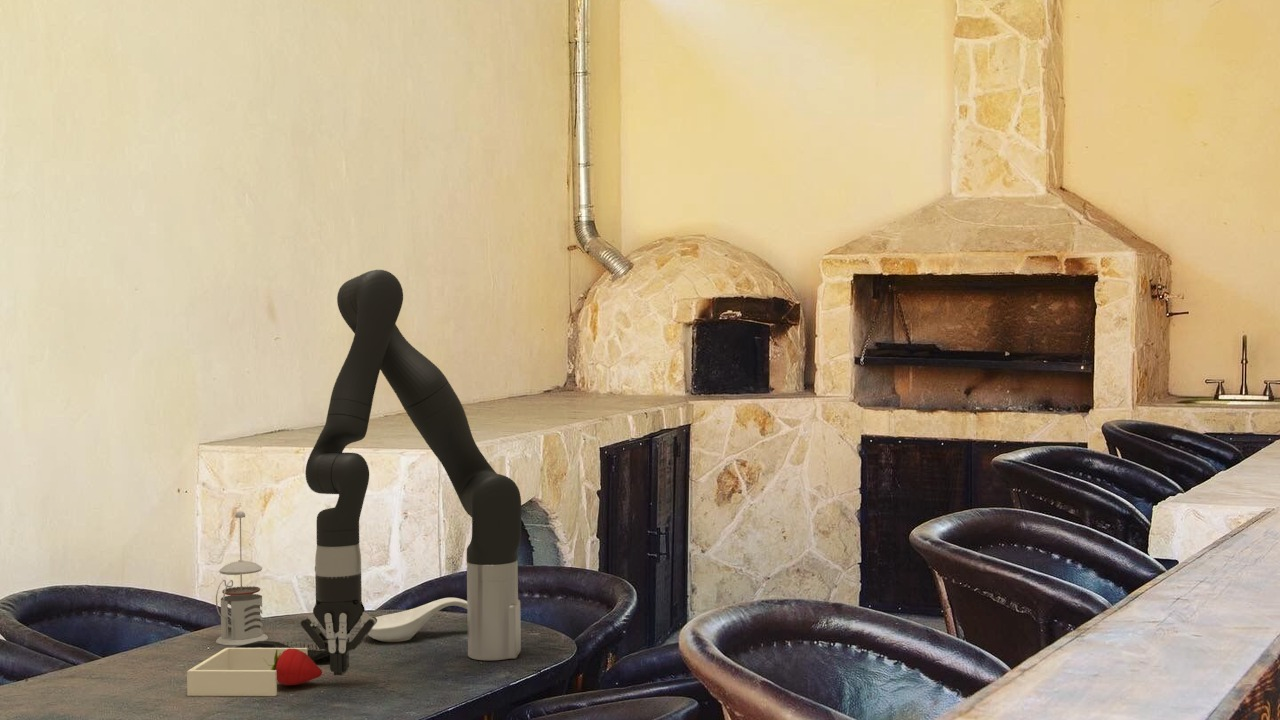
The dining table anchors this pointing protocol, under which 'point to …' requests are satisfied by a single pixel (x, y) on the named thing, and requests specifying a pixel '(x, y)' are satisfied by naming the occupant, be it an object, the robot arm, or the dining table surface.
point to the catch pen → (236, 673)
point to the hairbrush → (270, 644)
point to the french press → (240, 605)
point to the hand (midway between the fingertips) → (339, 674)
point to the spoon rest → (409, 620)
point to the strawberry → (294, 667)
